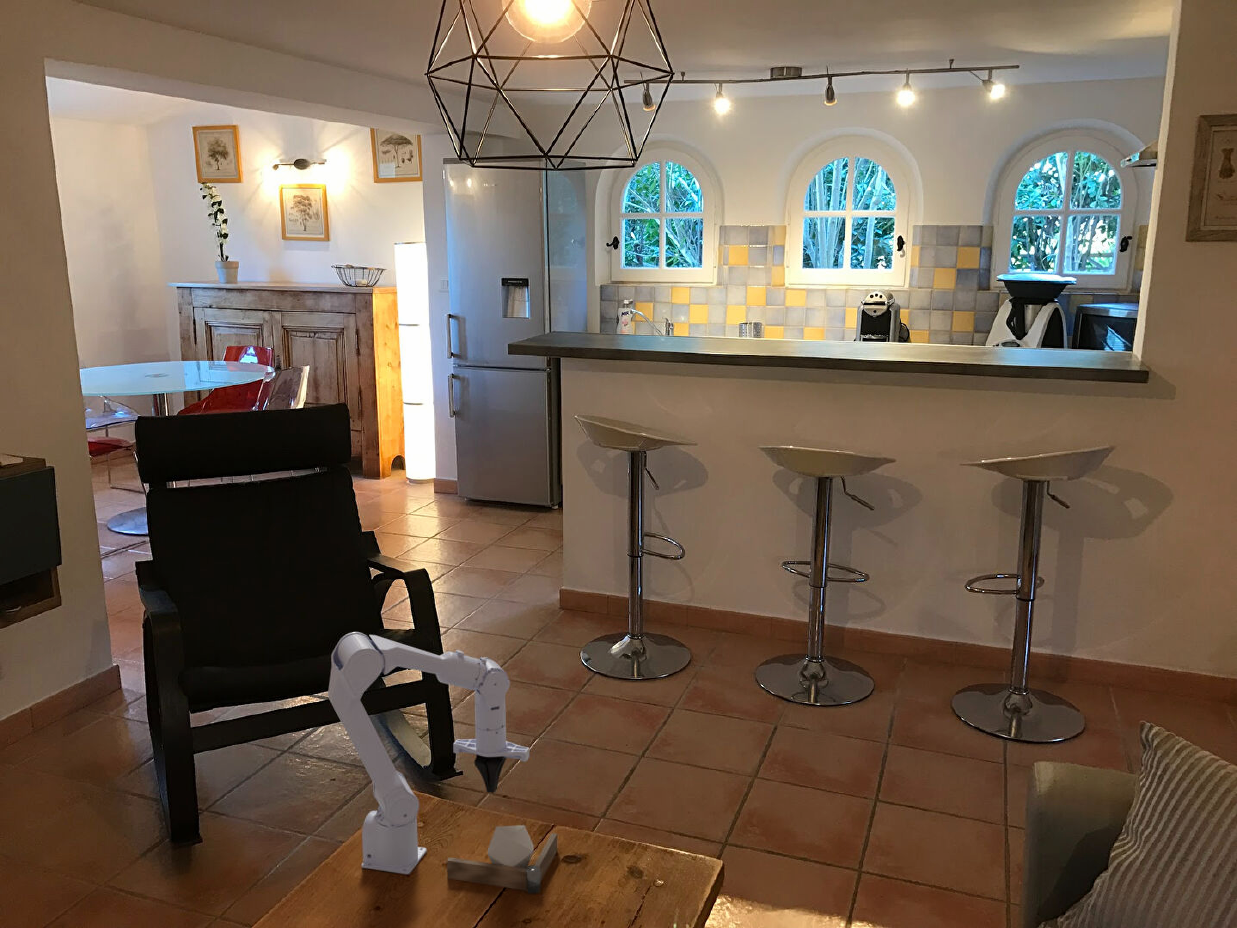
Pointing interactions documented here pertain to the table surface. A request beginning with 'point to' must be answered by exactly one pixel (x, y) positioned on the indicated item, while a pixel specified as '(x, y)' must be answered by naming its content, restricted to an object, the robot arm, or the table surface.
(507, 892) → the table surface
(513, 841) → the die
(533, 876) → the wooden l-shaped bracket
